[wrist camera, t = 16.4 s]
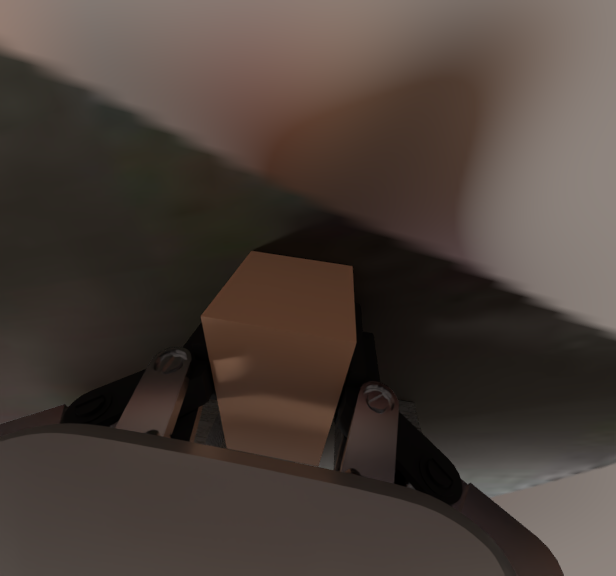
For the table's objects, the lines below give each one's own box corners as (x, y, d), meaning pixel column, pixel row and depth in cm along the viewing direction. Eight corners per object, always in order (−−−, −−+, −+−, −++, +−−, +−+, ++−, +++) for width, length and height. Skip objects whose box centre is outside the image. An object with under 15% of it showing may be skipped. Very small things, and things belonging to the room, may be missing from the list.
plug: (309, 451, 21) (300, 522, 17) (258, 441, 21) (239, 509, 17) (352, 266, 10) (356, 342, 7) (251, 250, 11) (200, 316, 7)
